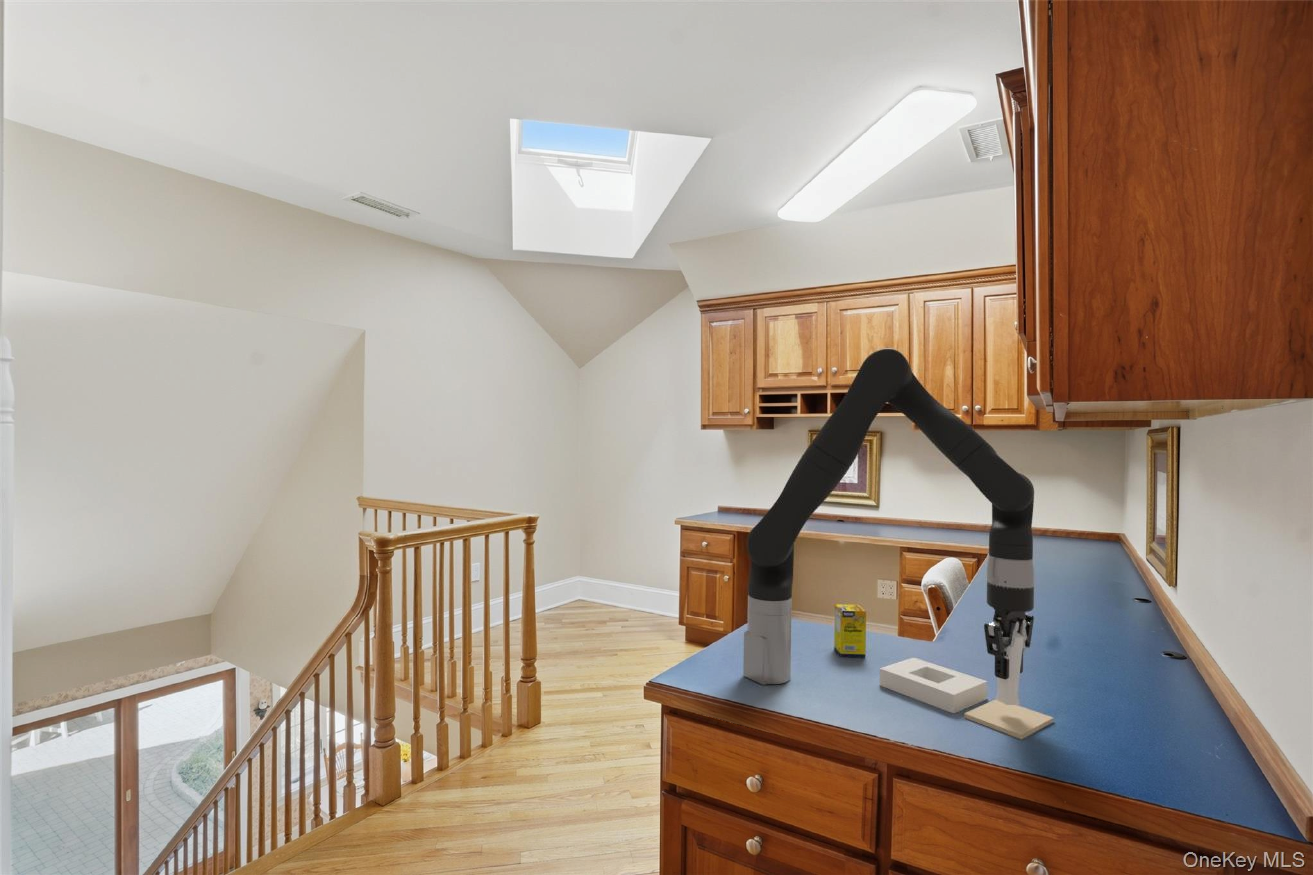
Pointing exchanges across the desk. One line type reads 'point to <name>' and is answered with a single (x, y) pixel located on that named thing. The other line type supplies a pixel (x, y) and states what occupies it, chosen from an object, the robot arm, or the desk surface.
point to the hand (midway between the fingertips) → (1008, 674)
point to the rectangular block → (934, 684)
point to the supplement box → (850, 631)
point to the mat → (1009, 718)
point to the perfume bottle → (1011, 674)
